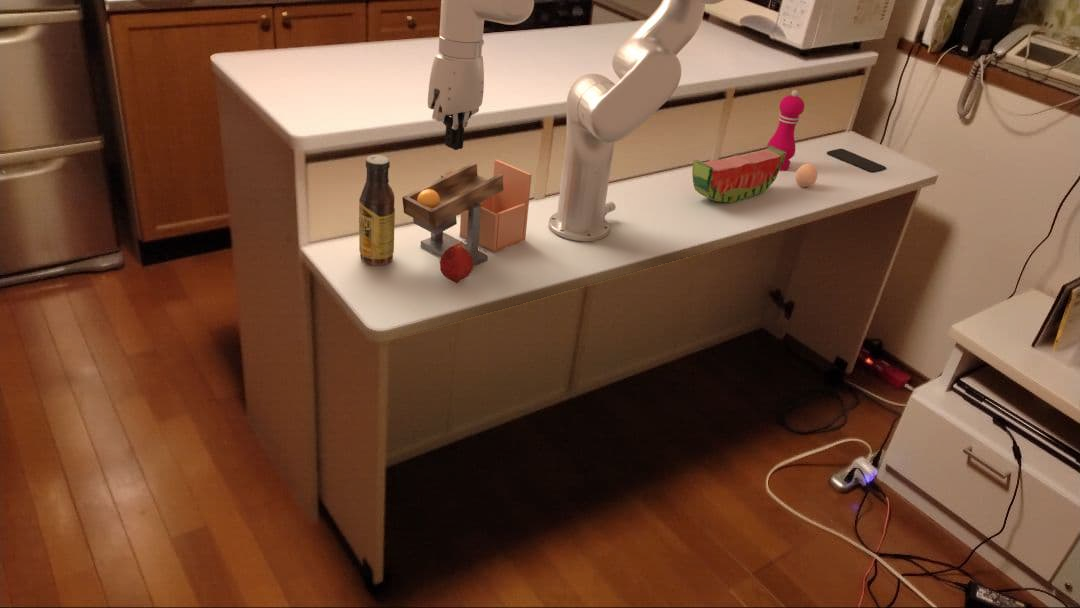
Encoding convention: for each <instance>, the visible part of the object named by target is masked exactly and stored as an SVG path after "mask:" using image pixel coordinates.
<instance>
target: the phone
mask: <svg viewBox="0 0 1080 608" xmlns="http://www.w3.org/2000/svg"><path fill="white" fill-rule="evenodd" d="M826 155H827V156H830V157H832V158H835V159H838V160H840V161H841V162H845V163H847V164H849V165H850V166H852V167H855V168H859V169H861V170H863V171H865V172H868V173H878V172H881V171H885V170H887V167H886V166H884V165H883V164H881V163H878V162H876V161H873V160H870V159H868V158H866V157H864V156H861V155H859V154H856V153H854V152H851V151H849V150H847V149H844V148H835V149H832V150H829V151H827V152H826Z"/></svg>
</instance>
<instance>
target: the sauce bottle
mask: <svg viewBox="0 0 1080 608" xmlns="http://www.w3.org/2000/svg"><path fill="white" fill-rule="evenodd" d="M390 163H391V162H390V159H389V157H387V156H385V155H380V154H373V155H368V157H366V159H365V168H366V179H365V183H364V186H363V189H362V192H361V194H360V197H359V199H358V200H359V203H358V205H359V206H358V211H359V213H358V215H359V216H358V223H359V224H358V225H359V227H358V231H359V236H358V238H359V239H358V240H359V243H358V244H359V247H358V248H359V249H358V250H359V253H360V254H359V257H360V260H361V261H362V262H363V263H366V264H367V265H368V266H383V265H386V264H389V263H391V262H392V261H393V257H394V253H395V251H394V250H395V222H396V221H395V218H396V217H395V215H396V209H395V193H394V191H393V188H392V186H390V184H389V183H390V180H389V169H390V166H391V165H390Z"/></svg>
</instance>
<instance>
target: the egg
mask: <svg viewBox="0 0 1080 608" xmlns="http://www.w3.org/2000/svg"><path fill="white" fill-rule="evenodd" d="M794 176H795V181H796V183H797V185H798V186H800V187H802V188H809V187H811V186H813V185H814V184H815V183H816V181H817V179H818V170H817V168H816V166H814V165H813V164H812V163H809V162H808V163H804V164H802V165H801V166H800V167H799V168H798V169H797V171H796V172H795V175H794Z"/></svg>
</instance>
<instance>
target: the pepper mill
mask: <svg viewBox="0 0 1080 608" xmlns="http://www.w3.org/2000/svg"><path fill="white" fill-rule="evenodd" d="M799 95H800V91H798V89H793V90H792V91H791V94H790V95H786V96H785V97H783V98H782V99H781V101H780V103H779V106H778V108H779V111H780V113H779V116H778V120H779V122H778V125H777V128H776V131H775V132H774V134H773V135H772V137H771V138H770V139H769V141H768V143H767V145H766V148H767V146H773V147H775V148H777V149H779V150H782V151H784V152H786V155H785V158H784V161H783V164H782V166H781V168H780V170H779V171H787V170H789V168H790V164H791V159H792V158H793V157H794V156H795V154H796V142H795V131H796V130H795V129H796V126H797V124H799V121H800V115H802V113H804V110H805V101H804V100H803V99H802V98H801V97H799ZM766 148H765V149H766Z"/></svg>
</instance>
